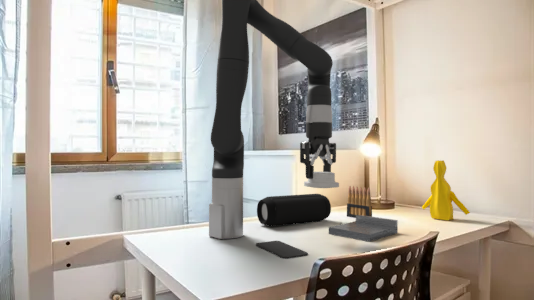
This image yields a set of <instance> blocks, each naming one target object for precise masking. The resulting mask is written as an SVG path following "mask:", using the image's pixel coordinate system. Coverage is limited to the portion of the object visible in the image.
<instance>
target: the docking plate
mask: <svg viewBox="0 0 534 300" xmlns="http://www.w3.org/2000/svg"><path fill="white" fill-rule="evenodd" d="M398 230H399V229H398V219H391V218H386V217H385V218H383V217H376V216H372V217H371V216H364V215H356V218H355V221H350V222H346V223H342V224H337V225H332V226H328V235H332V236H333V235H334V236H339V237H344V238H347V239H349V238H350V239H353V240H359V241H364V242H370V243H371V242H373V241H376V240H377V241H378V240H380V239H384V238H387V237H389V236H393V235H396V234H398V233H399V232H398Z"/></svg>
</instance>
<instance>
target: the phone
mask: <svg viewBox="0 0 534 300" xmlns="http://www.w3.org/2000/svg"><path fill="white" fill-rule="evenodd" d="M255 246H256V247H257V248H259V249H262V250H264V251H266V252H268V253H270V254H271V255H274V256H276V257H278V258H281V259H283V260H284V259H286V260H288V259H295V258H301V257H307V256H308V255H309V253H308V252H307V251H304V250H303V249H299V248H298V247H296V246H295V247H294V246H293V245H291V244H289V243H285V242H283V241H281V240H270V241H269V240H268V241H261V242H256V244H255Z"/></svg>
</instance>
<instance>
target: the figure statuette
mask: <svg viewBox="0 0 534 300" xmlns="http://www.w3.org/2000/svg"><path fill="white" fill-rule="evenodd" d="M432 167H433V168H432V169H433V171H434V174H435V179H434V181H433V182H432V184H431V185H430V192H431V195H430V196H429V197H428V198H427V200H426V201H425V203H424V204H423V205H422V206H421V208H422V210H425V209H426V208H429V214H430V217H431V218H432V219H436V220H441V221H450V220H451V221H452V220H454V208H453V207H454V206H453V204H454V205H456V206H457V207H458V208H459V209H460V210H461V211H462V213H464V215H465V216H467V215H469V214H470V213H471V212H470V211H469V209H468V208H467V207H466V206H465V204H463V202H461V201H460V199H458V197H457V196H456V194H455V192H454V191H452V188H451V185H450V184H449V182H448V181H447V179H446V178H445V174H446V173H447V165H446V162H445V160H435V161H434V164H433V166H432ZM452 202H453V204H452Z"/></svg>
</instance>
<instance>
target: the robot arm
mask: <svg viewBox="0 0 534 300" xmlns="http://www.w3.org/2000/svg"><path fill="white" fill-rule="evenodd" d="M221 15H222V16H221V17H222V18H221V19H222V20H221V29H220V30H221V31H220V38H219V46H218V55H217V65H216V82H215V83H216V84H215V85H216V86H215V88H216V89H215V90H216V91H215V102H216V104H215V112H214V116H213V123H212V127H211V132H210V144H211V146H212V148H213V165H212V169H211V203H209V204H208V236H209V237H211V238H216V239H219V240H225V239H237V238H241V237H243V236H244V169H245V168H244V167H245V160H244V159H245V136H244V133H243V131H242V107H243V105H242V104H243V101H244V97H245V93H246V88H247V84H248V77H249V69H250V68H249V66H250V65H249V64H250V47H249V37H248V35H249V34H248V25H250V27H252V28H255V29H256V30H257V31H259V32H260V33H261V34H262V35H264V37H266V38H267V39H269V41H270V42H272V43H273V44H274V45H275V46H277V48H279V49H280V50H281V51H282V52H283V53H285V54H286V55H287V56H289V57H290V58H291V59H293V60H297V61H298V62H299V63H301V64H302V65H303V66H304V67H305V68H307V88H308V89H307V95H306V101H307V102H306V104H307V105H306V114H305V137H306V138H307V139H308V141H300V143H299V144H300V145H299V148H300V149H299V163H300V164H304V166H305V178H306V179H313V173H314V172H315V168H314V166H315V165H314V164H315V161H316V160H317V159H318V158H319V159H320V160H322V163H323V166H322V167H323V169H322V172H332V165H333V164H335V163H336V162H337V143H336V142H330V139H331V138H332V137H333V110H332V89H331V72H332V67H333V64H334V63H333V59H332V57H331V55H330V54H329V53H328V52H327V50H325V49H324V48H323V47H321V46H319V45H317V44H316V43H314V42H312V41H310V40H309V39H307V38H306V37H305V36H304V35H303V34H301V33H300V32H299V31H298V29H296V28H294V26H292V25H290V24H289V23H287V22H286V21H284V20H282V19H281V18H278V17H276V16H275V15H273V14H272V13H270V12H269V11H267V9H265V8H264V7H263V5H262V4H261V3H260V2H259V1H258V0H221Z"/></svg>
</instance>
